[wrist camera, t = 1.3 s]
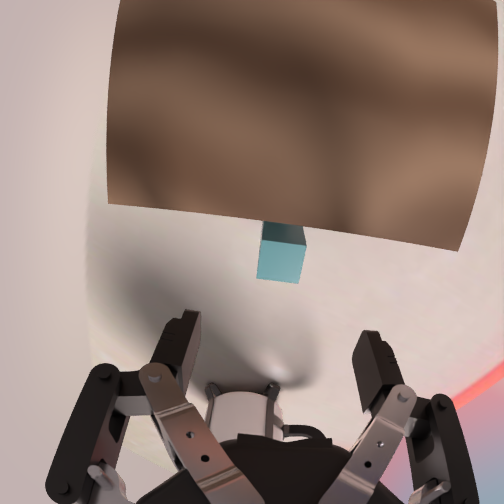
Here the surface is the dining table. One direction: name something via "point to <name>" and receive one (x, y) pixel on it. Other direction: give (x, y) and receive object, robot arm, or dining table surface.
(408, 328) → the dining table surface
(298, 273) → the slider
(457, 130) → the small wooden table
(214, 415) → the coffee press
